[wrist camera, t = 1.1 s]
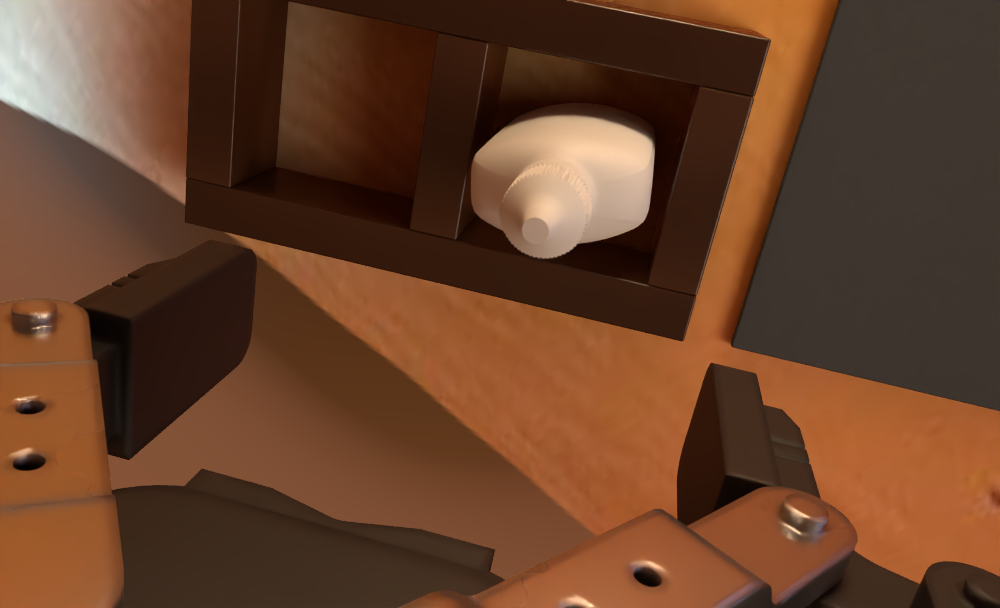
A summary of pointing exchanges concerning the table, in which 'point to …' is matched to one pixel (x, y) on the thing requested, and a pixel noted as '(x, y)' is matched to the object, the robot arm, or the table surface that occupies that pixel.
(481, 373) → the table surface
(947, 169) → the mat
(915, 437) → the table surface
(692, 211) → the rack
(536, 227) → the eye dropper bottle
